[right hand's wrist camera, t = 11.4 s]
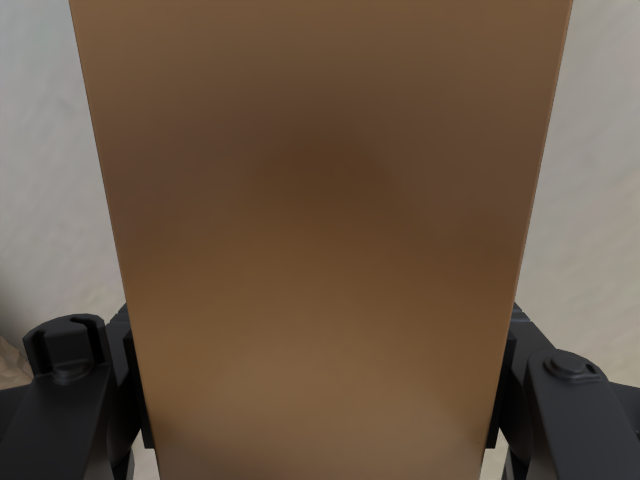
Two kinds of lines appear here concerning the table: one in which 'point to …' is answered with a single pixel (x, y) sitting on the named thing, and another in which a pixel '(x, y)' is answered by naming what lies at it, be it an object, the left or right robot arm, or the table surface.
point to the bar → (320, 221)
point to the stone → (13, 367)
